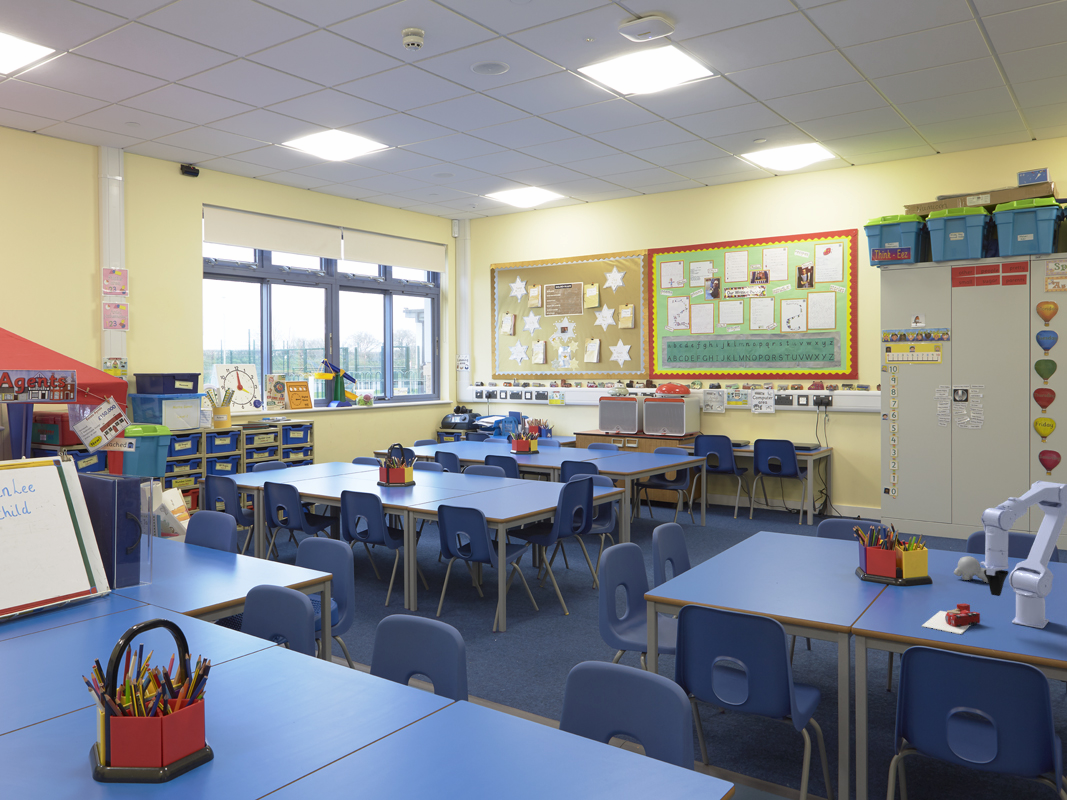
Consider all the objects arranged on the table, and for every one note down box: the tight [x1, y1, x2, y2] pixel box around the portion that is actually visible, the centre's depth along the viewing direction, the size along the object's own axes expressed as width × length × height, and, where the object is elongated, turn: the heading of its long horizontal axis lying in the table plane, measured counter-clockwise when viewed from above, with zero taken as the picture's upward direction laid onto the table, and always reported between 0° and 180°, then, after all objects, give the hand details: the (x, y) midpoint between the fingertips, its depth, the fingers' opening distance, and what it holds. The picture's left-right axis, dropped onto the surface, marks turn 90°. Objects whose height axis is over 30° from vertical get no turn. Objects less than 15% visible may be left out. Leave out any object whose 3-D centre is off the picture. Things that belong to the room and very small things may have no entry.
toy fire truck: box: [945, 602, 981, 627], centre depth 229 cm, size 3×14×10 cm
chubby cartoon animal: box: [953, 556, 989, 584], centre depth 273 cm, size 7×12×8 cm, turn 42°
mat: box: [921, 610, 972, 635], centre depth 228 cm, size 19×11×1 cm, turn 136°
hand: (995, 595), depth 221 cm, fingers closed
